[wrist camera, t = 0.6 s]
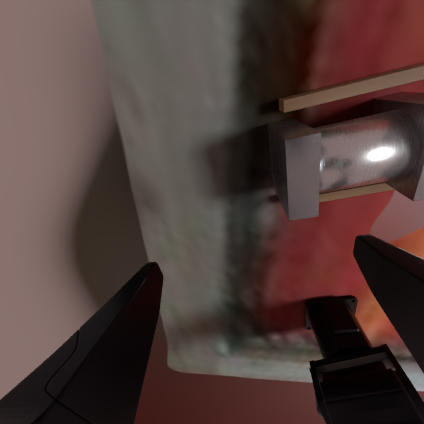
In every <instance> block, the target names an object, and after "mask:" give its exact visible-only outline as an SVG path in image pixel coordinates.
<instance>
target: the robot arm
mask: <svg viewBox="0 0 424 424" xmlns="http://www.w3.org/2000/svg"><path fill="white" fill-rule="evenodd" d="M353 254H354V257H355V259H356V261H357V264H358V266H359V268H360V270H361V272H362V274H363V276H364V278H365V280H366V282H367V284H368V286H369V288H370V289H371V291H372V293H373V295H374V296H375V298H376V300H377V301H378V303H379V304H380V306H381V308H382V309H383V311H384V312H385V314H386V315H387V317H388V318H389V320H390V322H391V323H392V325H393V326H394V328H395V329H396V331H397V332H398V334H399V336H400V337H401V339H402V340H403V342H404V343H405V345H406V346H407V348H408V350H409V351H410V353H411V354H412V356H413V357H414V359H415V360H416V362H417V364H418V365H419V367H420V368H421V370H422V371H423V373H424V259H422V258H420V257H418V256H416V255H414V254H411V253H409V252H407V251H405V250H403V249H400V248H398V247H396V246H394V245H392V244H389V243H387V242H385V241H383V240H381V239H378V238H376V237H374V236H372V235H369V234H366V235H359V236H357V237H356V239H355V244H354V250H353ZM162 286H163V274H162V272H161V270H160V268H159V266H158V264H157V262H149V263H146V264H145V265H144V266H143V267H142V268H141V269H140V270H139V271H138V272H137V273H136V274H135V275H134V276H133V277H132V278H131V279H130V280H129V281H128V282H127V283H126V284H125V285H124V286H123V287H122V288H121V289H120V290H118V291H117V293H115V294H114V295H113V296H112V297H111V298H110V299H109V300H108V301H107V302H106V303H105V304H104V305H103V306H102V307H101V308H100V309H99V310H98V311H97V312H96V313H95V314H94V315H93V316H92V317H91V318H90V319H89V320H88V321H87V322H86V323H85V324H83V325H82V326H81V327H80V329H79V330H77V331H76V332H75V333H74V334H73V335H72V336H71V337H70V338H69V339H68V340H67V341H66V342H65V343H64V344H63V345H62V346H61V347H59V348H58V349H57V350H56V351H55V352H54V353H53V354H52V355H51V356H50V357H49V358H47V359H46V360H45V361H44V362H43V363H42V364H41V365H40V366H38V367H37V368H36V369H35V370H34V371H33V372H32V373H30V375H28V376H27V377H26V378H25V379H24V380H23V381H21V382H20V383H19V384H18V385H17V386H16V387H14V389H12V390H11V391H10V392H9V393H8V394H6V395H5V396H4V397H3V398H2V399H1V400H0V424H134V421H135V416H136V412H137V408H138V403H139V399H140V395H141V390H142V386H143V381H144V377H145V373H146V368H147V364H148V360H149V355H150V351H151V346H152V342H153V338H154V333H155V329H156V325H157V320H158V315H159V310H160V303H161V294H162ZM357 301H358V300H357V298H356V297H355V296H349V297H339V298H330V299H320V300H310V301H306V302H305V327H306V329H307V330H313V332H314V335H315V337H316V340H317V343H318V346H319V348H320V351H321V354H322V357H323V359H321V360H317V361H314V360H313V361H309V362H310V367H311V368H310V372H311V376H312V380H313V385H314V389H315V396H316V405H317V411H318V413H319V415H320V416H322V417H323V418H324V420H325V422H326V424H424V402H423V401H422V399H421V397H420V396H419V394H418V393H417V391H416V389H415V388H414V386H413V384H412V383H411V381H410V380H409V378H408V377H407V375H406V374H405V372H404V371H403V369H402V368H401V366H400V365H399V363H398V361H397V360H396V358H395V357H394V355H393V354H392V352H391V351H390V349H389V348H388V346H387V345H386V344H383V345H381V346H379V347H374V348H373V347H372V345H371V343H370V341H369V340H368V338H367V336H366V334H365V333H364V331H363V329H362V327H361V326H360V324H359V322H358V320H357V318H356V317H355V311H356V306H357Z"/></svg>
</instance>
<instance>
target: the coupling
mask: <svg viewBox="0 0 424 424" xmlns="http://www.w3.org/2000/svg"><path fill="white" fill-rule="evenodd" d="M267 125H268V136H269V148H270V159H271V170H272V181H273V188H274V190H275V192H276V194H277V196H278V198H279V200H280V202H281V204H282V207H283V209H284V211H285V213H286V215H287V217H288V219H289V221H292V220H298V219H304V218H310V217H316V216H318V212H319V193H325V192H330V191H336V190H342V189H347V188H353V187H359V186H364V185H370V184H376V183H381V182H384V183H385V184H387V185H389V186H390V187H392V188H393V189H395V190H397V191H398V192H400V193H401V194H403V195H404V196H406V197H408V198H409V199H411V200H412V201H415V200H422V199H424V93H417V92H400V93H396V94H392V95H388V96H383V97H379V98H375V99H374V103H373V110H372V115H370V116H366V117H361V118H357V119H352V120H348V121H343V122H339V123H334V124H330V125H325V126H321V127H316V128H311V127H309V126H307V125H306V124H304V123H302V122H300V121H298V120H296V119H294V118H289V119H285V120H281V121H277V122H272V123H268V124H267Z"/></svg>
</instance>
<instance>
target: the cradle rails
mask: <svg viewBox="0 0 424 424" xmlns="http://www.w3.org/2000/svg"><path fill="white" fill-rule="evenodd" d="M422 79H424V63H421V64H417V65H413V66H409V67H405V68H401V69H397V70H393V71H389V72H385V73H381V74H377V75H373V76H369V77H365V78H361V79H357V80H353V81H349V82H345V83H341V84H337V85H333V86H329V87H325V88H321V89H317V90H313V91H309V92H305V93H301V94H297V95H293V96H289V97H285V98H281V99H279V110H280V111H282V112H284V113H285V112H289V111H293V110H297V109H301V108H305V107H310V106H314V105H318V104H322V103H326V102H330V101H335V100H339V99H343V98H347V97H351V96H356V95H360V94H364V93H368V92H372V91H376V90H381V89H385V88H389V87H393V86H397V85H401V84H406V83H410V82H414V81H418V80H422ZM388 190H394V189H393V188H392V187H390V186H389V185H387V184H385V183H384V182H381V183H376V184H370V185H364V186H359V187H353V188H347V189H342V190H336V191H330V192H325V193H319V202H323V201H329V200H335V199H341V198H347V197H353V196H359V195H364V194H370V193H376V192H382V191H388Z"/></svg>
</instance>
